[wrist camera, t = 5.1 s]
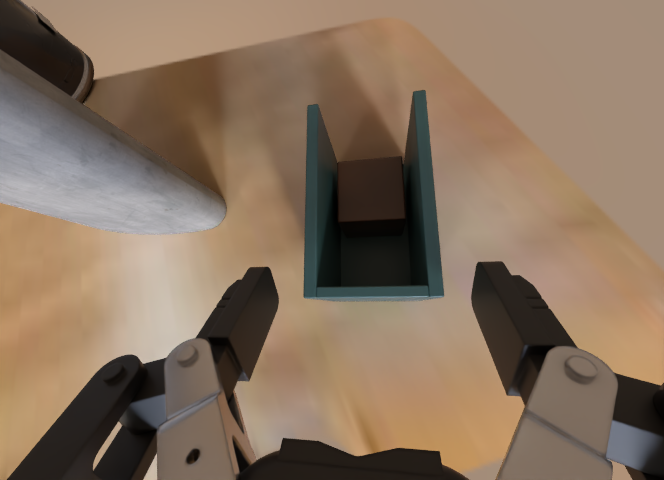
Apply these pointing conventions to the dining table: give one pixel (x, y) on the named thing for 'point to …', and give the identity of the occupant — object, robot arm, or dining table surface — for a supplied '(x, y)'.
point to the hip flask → (89, 165)
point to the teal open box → (381, 251)
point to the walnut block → (371, 197)
